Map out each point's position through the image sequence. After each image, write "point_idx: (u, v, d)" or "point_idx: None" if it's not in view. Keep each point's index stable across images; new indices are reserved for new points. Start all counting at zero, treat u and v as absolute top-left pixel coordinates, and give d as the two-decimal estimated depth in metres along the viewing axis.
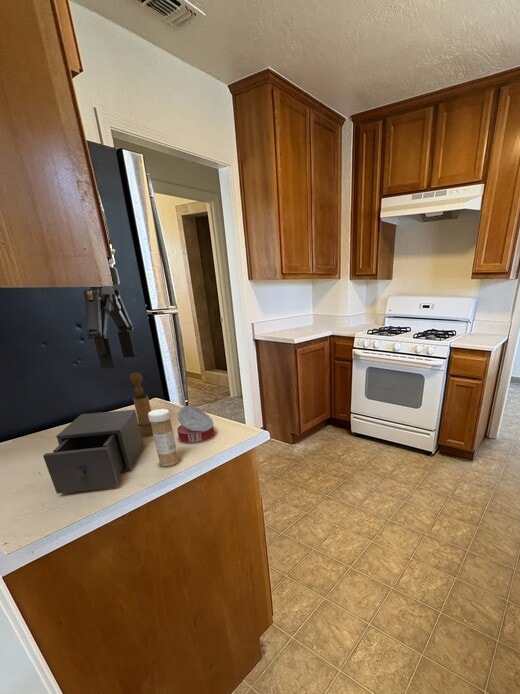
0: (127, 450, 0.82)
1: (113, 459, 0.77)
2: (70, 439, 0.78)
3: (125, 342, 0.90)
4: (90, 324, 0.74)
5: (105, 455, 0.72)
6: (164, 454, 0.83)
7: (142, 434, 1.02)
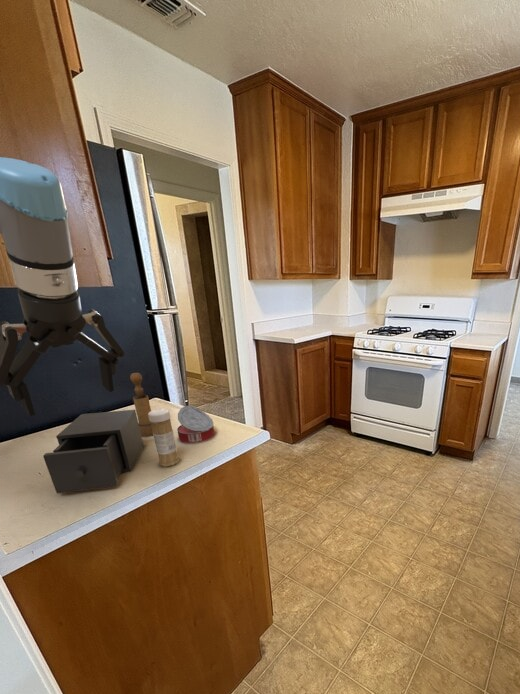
0: (127, 450, 0.82)
1: (113, 459, 0.77)
2: (70, 439, 0.78)
3: (104, 373, 0.69)
4: None
5: (105, 455, 0.72)
6: (164, 454, 0.83)
7: (142, 434, 1.02)
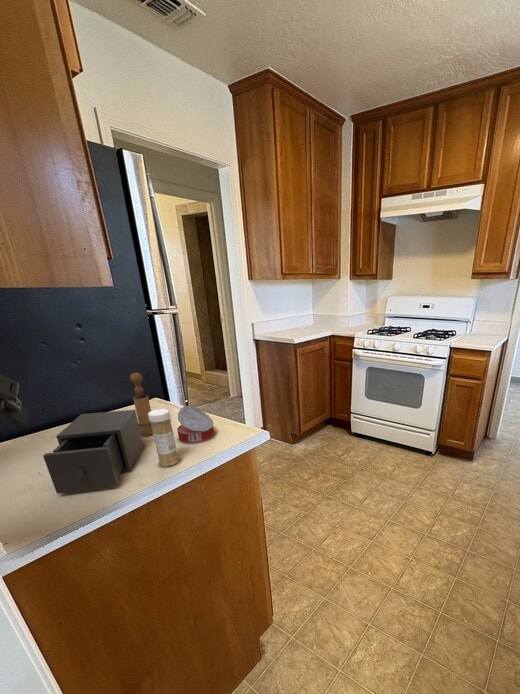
0: (127, 450, 0.82)
1: (113, 459, 0.77)
2: (70, 439, 0.78)
3: None
4: None
5: (105, 455, 0.72)
6: (164, 454, 0.83)
7: (142, 434, 1.02)
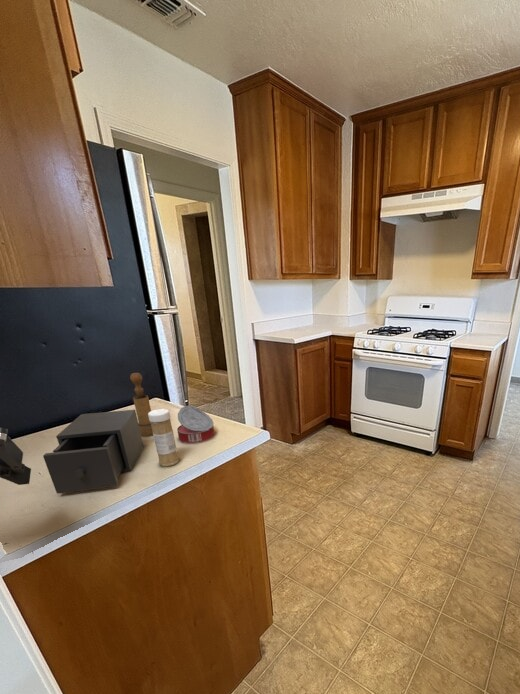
0: (127, 450, 0.82)
1: (113, 459, 0.77)
2: (70, 439, 0.78)
3: None
4: None
5: (105, 455, 0.72)
6: (164, 454, 0.83)
7: (142, 434, 1.02)
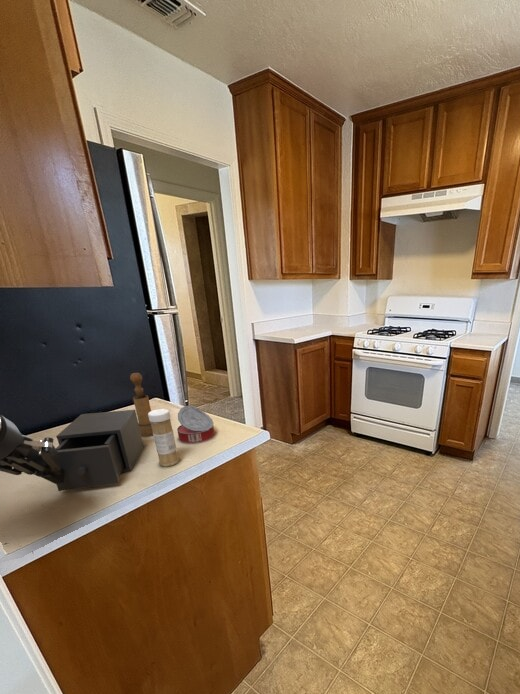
0: (127, 450, 0.82)
1: (114, 457, 0.78)
2: None
3: None
4: None
5: (106, 453, 0.73)
6: (164, 454, 0.83)
7: (142, 434, 1.02)
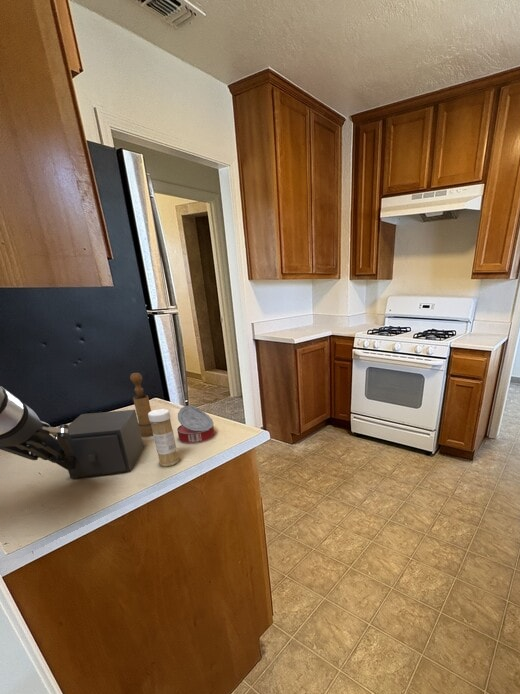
0: (127, 450, 0.82)
1: None
2: None
3: None
4: None
5: (115, 442, 0.79)
6: (164, 454, 0.83)
7: (142, 434, 1.02)
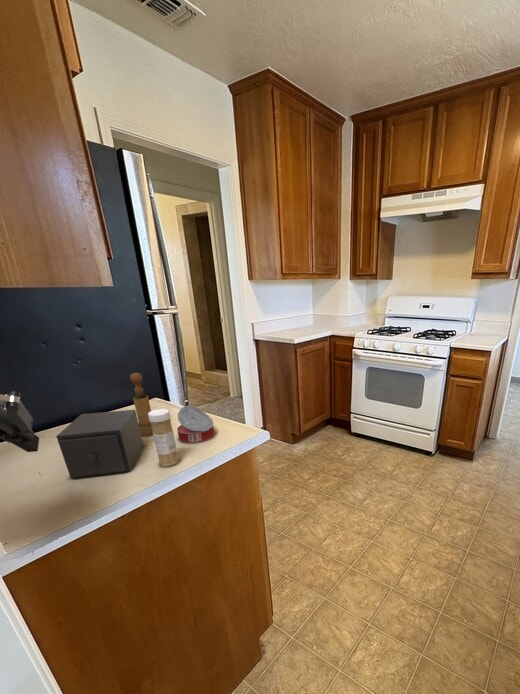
0: (127, 450, 0.82)
1: None
2: None
3: None
4: None
5: (115, 442, 0.79)
6: (164, 454, 0.83)
7: (142, 434, 1.02)
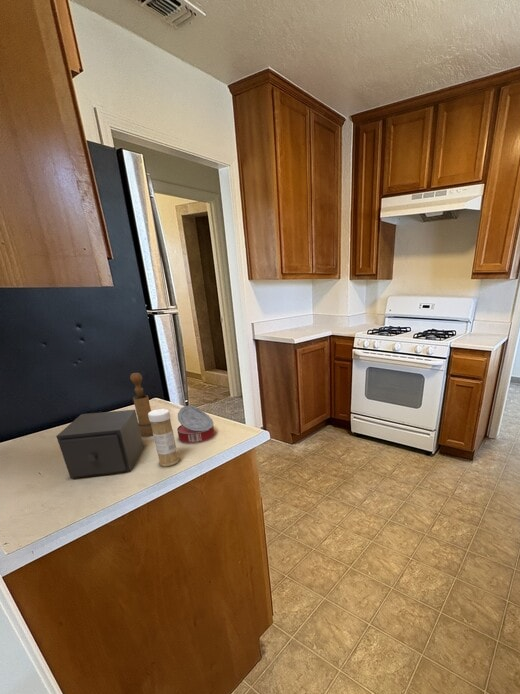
0: (127, 450, 0.82)
1: None
2: None
3: None
4: None
5: (115, 442, 0.79)
6: (164, 454, 0.83)
7: (142, 434, 1.02)
